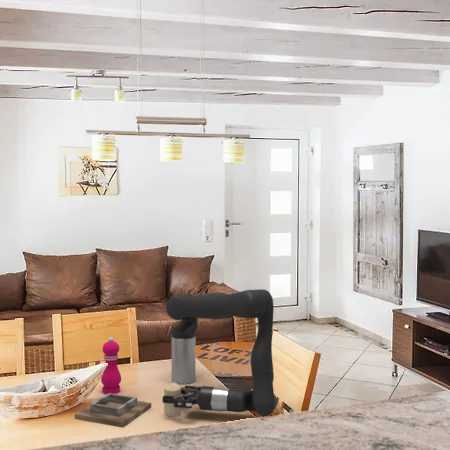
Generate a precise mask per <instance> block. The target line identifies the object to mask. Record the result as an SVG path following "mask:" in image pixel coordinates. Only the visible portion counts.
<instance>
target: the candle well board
mask: <svg viewBox="0 0 450 450" xmlns="http://www.w3.org/2000/svg"><path fill="white" fill-rule="evenodd" d="M151 408H152V402H148V401H141V400H138V397H135V396H129V395H125V394H124V395H123V394H118V393H115V394H111V393H108V394H105V395H103V396H102V397H100V398H98V399H96V400H95V401H93V402H92V403H90V404H89V405H88V406H86V407H84V408H82V409H81V410H79V411H77V412H76V413H74V419H75V420H82V421H86V422H91V421H92V422H93V423H97V424H103V425H110V426H115V427H120V428H125V427H126V426H127V425H129V424H130V423H131V422H133V421H134V420H135V419H137V418H138V417H139V416H141V415H142V414H144V413H145V412H147V411H148V410H150V409H151Z"/></svg>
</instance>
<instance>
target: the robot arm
mask: <svg viewBox="0 0 450 450" xmlns="http://www.w3.org/2000/svg"><path fill="white" fill-rule="evenodd" d="M165 311H166V314H167V315H168V317H170V318H171V319H172V320H175V321H180V322H179V323H178V324H177V325H176V326H175V327H173V328H171V381H172V382H176V383H177V384H178V385H179V384H181V385H184V386H182V387H181V395H180V396H175V397H174V396H164V395H162V401H161V402H162V403H163V404H164V403H170V404H174V407H177V408H181V409H190V410H191V409H193V406H194V405H195V406H196V405H197V406H198V408H199V410H200V411H208V412H209V411H210V412H211V411H212V412H232V413H244V412H256V414H258V415H259V416H262V417H267V416H270V415H271V414H272V413H274V411H275V410H276V409H277V406H278V398H277V396H276V394H275V393H274V378H275V375H274V374H275V373H274V363H273V362H274V361H273V352H272V351H273V347H272V345H273V344H272V343H273V329H274V328H273V326H274V311H275V309H274V299H273V296H272V294H271V293H270V292H269V291H268V290H267V289H259V288H258V289H246V290H242V291H238V292H234V293H225V292H219V291H218V292H207V293H201V294H198V295H193V294H191V293H187V294H186V293H185V294H177V295H174V296H171V297H170V298H169V299H168V300H167V302H166V305H165ZM227 317H228V318H229V317H235V318H243V319H257V334H256V337H255V341H254V344H253V347H252V350H251V353H250V369H251V370H250V371H251V377H252V389H249V390H245V389H238V388H228V387H227V388H226V387H222V386H221V387H220V386H207V385H202V386H198V385H197V386H196V385H186V384H191V383H194V382H196V378H197V377H196V372H197V371H196V368H197V367H196V363H197V362H196V361H197V360H196V351H197V349H196V342H197V341H196V336H197V335H196V332H197V329H198V320H199V319H203V320H205V319H207V320H208V319H209V320H221V319H225V318H227ZM180 404H181V405H180Z"/></svg>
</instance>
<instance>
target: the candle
mask: <svg viewBox="0 0 450 450" xmlns="http://www.w3.org/2000/svg"><path fill="white" fill-rule="evenodd" d="M181 388H182V387H181V386H180V385H179V384H178V383H176V382H169V383H167V384H166V385H165V386H164V387H163V389H164V390H163V396H174V397H175V396H180V395H181ZM180 405H181V404H180ZM163 410H164V415H165V416H167V417H177V416H180V415H181V413H182V408H177V407H174V404H170V403H163Z"/></svg>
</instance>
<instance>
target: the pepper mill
mask: <svg viewBox="0 0 450 450" xmlns="http://www.w3.org/2000/svg"><path fill="white" fill-rule="evenodd" d="M107 340H108V341H106V342H105V343H104V344H103V346H102V353H103V354H104V355H103V359H104V360H105V363H108V366H107V367H106V369H105V368H104V369H105V370H104V369H103V371H102V374H103V375H102V374H101V377H100V378H101V379H100V382H101V384H102V393H104V394H105V395H107V394H108V393H111V394H119V393H120V391H121V385H120V384H121V382H122V374H121V372H120V369H119V368H118V367H119V366H118V361H117V360H118V358H119V354H118V353H119V352H120V345H119V343H118V342H117V341H114V337H112V336H110V337H108V339H107Z"/></svg>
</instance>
